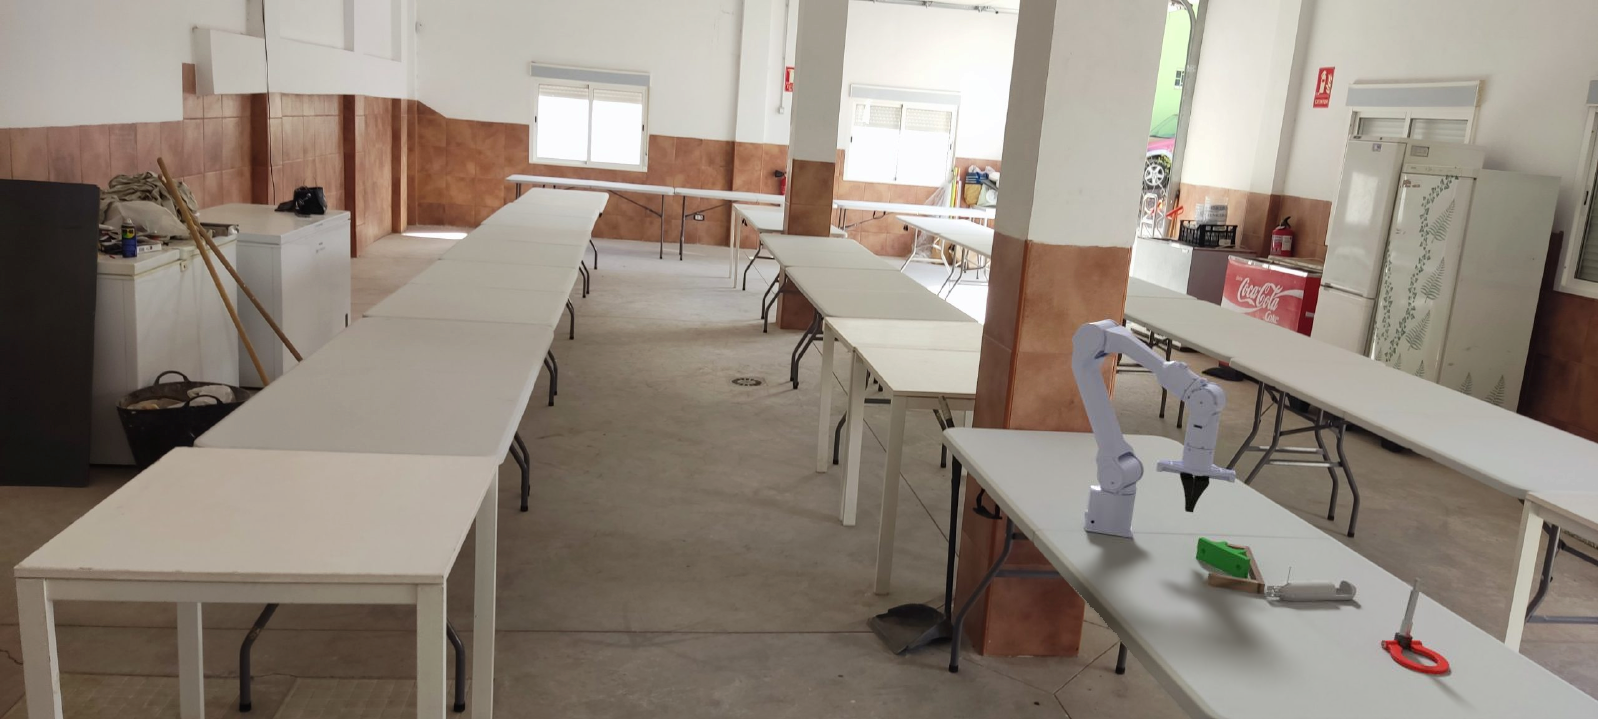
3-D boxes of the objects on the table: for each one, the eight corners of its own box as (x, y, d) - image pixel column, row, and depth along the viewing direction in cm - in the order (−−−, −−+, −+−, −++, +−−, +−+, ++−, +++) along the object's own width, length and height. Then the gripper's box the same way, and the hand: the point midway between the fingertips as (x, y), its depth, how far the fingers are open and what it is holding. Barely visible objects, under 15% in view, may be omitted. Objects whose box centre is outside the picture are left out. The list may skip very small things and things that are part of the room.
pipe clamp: (1255, 579, 203) (1260, 556, 202) (1242, 582, 201) (1246, 559, 200) (1208, 556, 212) (1212, 534, 211) (1195, 558, 210) (1199, 537, 209)
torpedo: (1342, 593, 199) (1349, 560, 198) (1360, 604, 195) (1367, 571, 193) (1256, 594, 196) (1263, 561, 194) (1272, 606, 191) (1279, 572, 190)
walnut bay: (1207, 585, 197) (1209, 575, 197) (1196, 548, 215) (1198, 538, 215) (1263, 594, 195) (1265, 584, 195) (1247, 555, 213) (1249, 546, 213)
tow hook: (1459, 676, 170) (1420, 646, 179) (1479, 604, 167) (1438, 576, 176) (1412, 677, 169) (1374, 646, 178) (1430, 604, 166) (1391, 576, 174)
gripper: (1162, 444, 206) (1151, 510, 209) (1241, 456, 203) (1229, 523, 206) (1160, 435, 213) (1150, 499, 216) (1237, 446, 209) (1225, 511, 212)
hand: (1188, 510), depth 211 cm, fingers closed
